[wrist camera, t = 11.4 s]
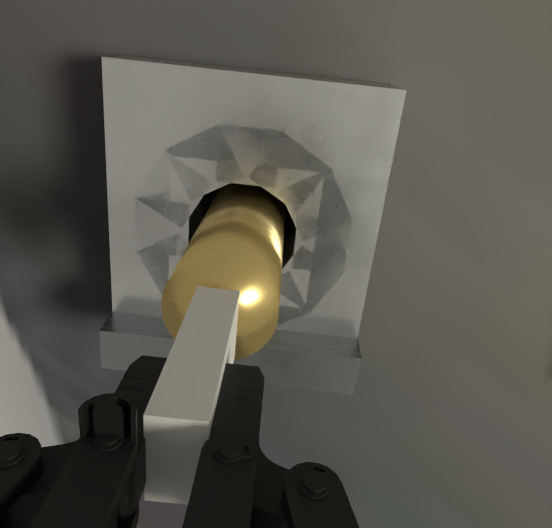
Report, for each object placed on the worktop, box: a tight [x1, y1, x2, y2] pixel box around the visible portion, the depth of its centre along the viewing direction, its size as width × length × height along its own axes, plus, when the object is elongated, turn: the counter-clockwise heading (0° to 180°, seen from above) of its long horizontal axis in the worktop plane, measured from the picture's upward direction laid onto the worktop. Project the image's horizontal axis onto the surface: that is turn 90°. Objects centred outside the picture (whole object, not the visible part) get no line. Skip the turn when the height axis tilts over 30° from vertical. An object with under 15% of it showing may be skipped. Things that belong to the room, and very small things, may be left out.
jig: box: [99, 56, 406, 395], centre depth 26 cm, size 16×14×6 cm
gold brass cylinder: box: [161, 183, 285, 360], centre depth 24 cm, size 4×4×12 cm
